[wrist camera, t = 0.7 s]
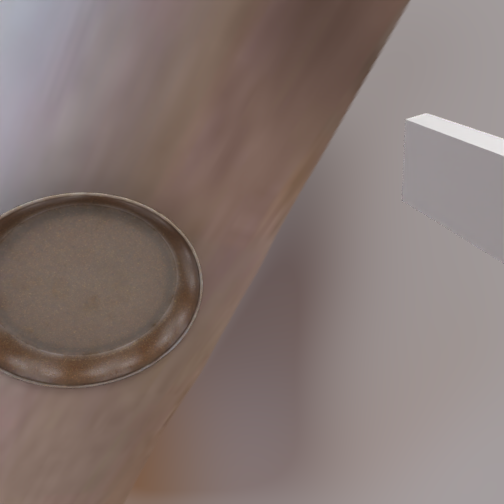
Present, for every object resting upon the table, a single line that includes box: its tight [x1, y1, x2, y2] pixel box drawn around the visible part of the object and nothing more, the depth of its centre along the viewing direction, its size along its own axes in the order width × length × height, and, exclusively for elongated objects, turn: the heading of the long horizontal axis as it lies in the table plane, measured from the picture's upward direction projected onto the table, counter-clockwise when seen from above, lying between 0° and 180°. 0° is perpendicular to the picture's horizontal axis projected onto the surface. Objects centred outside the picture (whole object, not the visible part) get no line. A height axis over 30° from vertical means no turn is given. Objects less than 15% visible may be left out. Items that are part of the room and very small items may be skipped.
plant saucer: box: [0, 192, 203, 388], centre depth 40 cm, size 21×21×3 cm
